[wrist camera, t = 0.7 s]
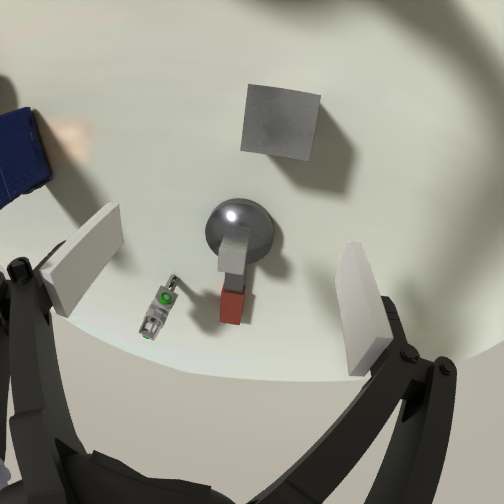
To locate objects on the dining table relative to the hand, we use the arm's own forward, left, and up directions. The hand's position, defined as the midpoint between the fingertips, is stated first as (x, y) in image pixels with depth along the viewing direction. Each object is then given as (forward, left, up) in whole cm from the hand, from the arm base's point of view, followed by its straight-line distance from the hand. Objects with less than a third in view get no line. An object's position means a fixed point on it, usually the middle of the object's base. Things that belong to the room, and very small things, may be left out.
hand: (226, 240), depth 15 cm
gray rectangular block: (-5, +2, -21) cm, 21 cm away
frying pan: (+17, -1, -21) cm, 27 cm away
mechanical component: (+22, -11, -21) cm, 32 cm away
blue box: (0, -37, -21) cm, 43 cm away
